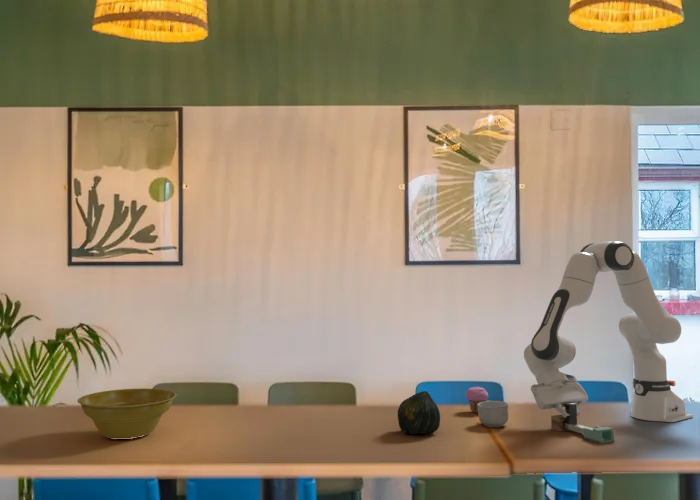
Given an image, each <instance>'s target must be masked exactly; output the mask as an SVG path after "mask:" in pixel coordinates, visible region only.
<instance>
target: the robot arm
mask: <svg viewBox="0 0 700 500" xmlns="http://www.w3.org/2000/svg"><path fill="white" fill-rule="evenodd" d="M599 272H605V273H606V272H613V274H614V275H615V279H616V283H617V285H618V288H619V292H620V295H621V298H622V301H623V303H624V304H625V306H627V307H628V308H630V309H631V310H632V311H633V312H630V313H626V314H624V315H623V316H622V317H621V318H620V319H619V323H618V329H619V330H618V331H619V332H620V334H621V335H622V336H623V338H625V340H626V341H627V343H628V345H629V348H630V349H629V350H630V351H631V354H632V360H633V376H634V378H633V379H632V387H633V389H634V390H633V392H632V401H631V402H632V404H631V409H630V417H632V418H635V419H639V420H642V421H649V422H650V421H651V422H665V423H675V422H679V421H683V420H688V419H691V418H693V414H692V413H690V412H686V405H685V402H684V400H683V399H682V398H681V397H679V396H678V395H677V394H676V393H674V392H673V391H672V389H671V387H675V386H677V385H676V381H675V380H668V378H667V377H668V375H667V359H666V358H665V356H664V355H663V354H662V353H661V352H660V351H659V349H658V346H657V344H658V345H666V344H672V343H675V342H677V341H678V340H679V338H680V337H681V334H682V325H681V323H680V321H679V320H678V319H677V318H676V317H674V316H673V315H672V314H671V313H670V312H668V311H667V309H665V307H664V306H663V304H662V303H661V301H660V300H659V298H658V297H657V295H656V292H655V290H654V288H653V286H652V283H651V280H650V276H649V273H648V271H647V268H646V266H645V264H644V262H643V259H642V258H641V257H640V255H639V253H637V252H635V251H633V250H632V248H631V247H630V245H628V244H627V243H625V242H623V241H618V240H617V241H616V240H615V241H600V242H595V243H593V242H592V243H588V244H587V245H585V246H583V248H581V250H580V251H578V252H574V253H573V254H572V255H571V257H570V259H569V260H568V263H567V265H566V267H565V270H564V272H563V274H562V275H563V276H562V279H561V282H560V284H559V286H558V289H557V290H556V291H555V292H554V294H553V295H552V297H551V299H550V301H549V303H548V307H547V309H546V311H545V313H544V316H543V319H542V322H541V323H540V326H539V328H538V329H537V330H536V332H535V334H534V335H533V337H532V339H531V343H529V344H528V345H527V346H526V347H525V349H524V351H523V358H524V361H525V364H526V365H527V368H528V369H529V371H530V372H531V373H532V375H533V376H534V377H535V381H536V383H537V384H532V385H531V386H530V391H531V393H532V394H533V398H534V400H535V402H536V405H537V407H538V408H539V409H541V410H549V409H550V410H551V409H555V410H556V411H557V412H558V413H559V414H560V415H563V417H564V418H567V417H569V416H570V414H569V413H568V411H565V403H575V404H576V406H577V417H579V416H580V414H581V413H580V411H579V408H578V407H579V406H584V405H585V404H586V403H587V402H588V400H589V396H588V393H587V392H586V390H585V389H584V387H583V386H582V385H581V384H580V383H579V382H577V377H576V376H575V375H572V374H568V373H564V372H562V371H560V370H559V369H561V368H563V367H565V366H566V365H568V364H570V363H572V362H573V360H575V357H576V350H577V349H576V346H575V344H574V343H573V342H572V341H571V340H569V339H567V338H565V337H563V336H560V335H559V330H560V328H561V325H562V322H563V319H564V317H565V314H566V313H567V311H568V310H569V309H571V308H574V307H579V306H582V305H584V304H586V303H587V302H588V301H589V299H590V297H591V295H592V293H593V291H594V286H595V281H596V278H597V274H598V273H599Z"/></svg>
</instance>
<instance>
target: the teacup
mask: <svg viewBox="0 0 700 500" xmlns="http://www.w3.org/2000/svg"><path fill="white" fill-rule="evenodd" d="M477 406H478V413H477V414H478V419H479V422H480V423H481V424H482V425H484V426H485V427H486V428H501V427H504V426H505V424H507V423H508V420H509V403H508V402H505V401H502V400H489V399H487V400H486V401H484V402H480V403H478V404H477Z"/></svg>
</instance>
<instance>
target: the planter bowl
mask: <svg viewBox="0 0 700 500" xmlns="http://www.w3.org/2000/svg"><path fill="white" fill-rule="evenodd" d="M176 397H177V393H176V392H174V391H171V390H167V389H163V388H161V389H160V388H125V389H124V388H121V389H114V390H113V389H112V390H111V389H110V390H104V391H99V392H94V393H90V394H86V395H83V396H81V397H79V398H78V399H77V403H78V404H79V405H81V409H82V412H83V413H84V415H86V416H87V417H89V418H90V419H91V420H92V422H93V424H94V426H95V427H96V429H97V431H98V432H99V434H101V436H103V437H105V438H106V437H109V438H131V437H138V436H142V435H146V434H149V435H150V434H151V433H152V432H153V431H155V429H156V428H157V426H158V424H159V423H160V421H161V418H162V416H163V415H164V414H165V412H167V411H168V410H170V408H171V405H172V404H173V401H174V399H175V398H176Z"/></svg>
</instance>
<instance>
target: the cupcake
mask: <svg viewBox="0 0 700 500" xmlns="http://www.w3.org/2000/svg"><path fill="white" fill-rule="evenodd" d="M465 398H466V399H467V400H468V402H469V403H468V404H469V410H470V411H471V412H472V413H475V414H478V406H477V404H478V403H480V402H484V401H488V400H489V393H488V391H487V390H486V389H485V388H484V387H480V386H472V387H469V388H468V389H467V390H466V393H465Z"/></svg>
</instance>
